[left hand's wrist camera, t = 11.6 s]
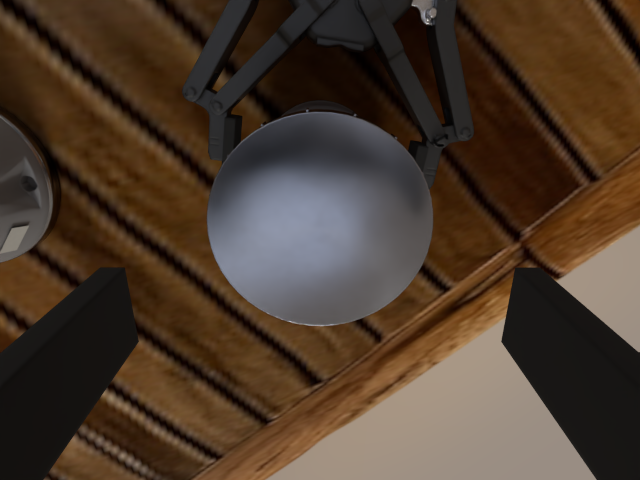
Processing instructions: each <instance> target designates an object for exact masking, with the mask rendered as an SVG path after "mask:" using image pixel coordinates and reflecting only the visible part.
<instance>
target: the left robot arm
mask: <svg viewBox="0 0 640 480" xmlns="http://www.w3.org/2000/svg"><path fill="white" fill-rule="evenodd" d="M59 209H60V188H59V182H58V178H57V174H56V171H55V168H54V166H53V164H52V161H51V159H50V157H49V156H48V154H47V152H46V150H45V149H44V147H43V146H42V144H41V143H40V142H39V140H38V139H37V138H36V136H35V135H34V134H33V133H32V132H31V131H30V130H29V129H28V128H27V127H26V126H25V125H24V124H23V123H22V122H21V121H20V120H18V119H17V118H16V117H15V116H13V115H12V114H11V113H9V112H8V111H6V110H5V109H3V108H1V107H0V262H4V261H7V260H11V259H14V258H16V257H18V256H20V255H22V254H24V253H26V252H27V251H29V250H31V249H32V248H34V247H36V246H37V245H38V244H40V243H41V242H42V241H43V240H44V239H45V238H46V237H47V236H48V235H49V233H50V232H51V230H52V229H53V227H54V225H55V223H56V220H57V217H58V214H59ZM138 342H139V341H138V336H137V330H136V325H135V320H134V315H133V309H132V304H131V299H130V293H129V288H128V283H127V278H126V272H125V268H99V269H98V270H97V271H96V272H95V273H93V274H92V275H91V276H90V277H89V278H88V279H86V280H85V281H84V282H83V283H82V284H81V285H79V286H78V287H77V288H76V289H75V290H74V291H72V292H71V293H70V294H69V295H68V296H67V297H65V298H64V299H63V300H62V301H61V302H60V303H58V304H57V305H56V306H55V307H54V308H53V309H51V310H50V311H49V312H48V313H47V314H46V315H44V316H43V317H42V318H41V319H40V320H39V321H37V322H36V323H35V324H34V325H33V326H32V327H30V328H29V329H28V330H27V331H26V332H25V333H23V334H22V335H21V336H20V337H19V338H18V339H16V340H15V341H14V342H13V343H12V344H11V345H10V346H8V347H7V348H6V349H5V350H4V351H3V352H1V353H0V480H43V479H44V478H45V476H46V475H47V474H48V472H49V471H50V469H51V468H52V466H53V465H54V463H55V462H56V461H57V459H58V458H59V456H60V455H61V453H62V452H63V450H64V449H65V448H66V446H67V445H68V443H69V442H70V440H71V439H72V437H73V436H74V434H75V433H76V432H77V430H78V429H79V427H80V426H81V424H82V423H83V421H84V420H85V419H86V417H87V416H88V414H89V413H90V411H91V410H92V408H93V407H94V406H95V404H96V403H97V401H98V400H99V398H100V397H101V395H102V394H103V393H104V391H105V390H106V388H107V387H108V385H109V384H110V382H111V381H112V379H113V378H114V377H115V375H116V374H117V372H118V371H119V369H120V368H121V366H122V365H123V364H124V362H125V361H126V359H127V358H128V356H129V355H130V353H131V352H132V351H133V349H134V348H135V346H136V345H137V343H138ZM501 342H502V343H503V345H504V346H505V348H506V349H507V351H508V352H509V353H510V355H511V356H512V358H513V359H514V361H515V362H516V364H517V365H518V366H519V368H520V369H521V371H522V372H523V374H524V375H525V377H526V378H527V379H528V381H529V382H530V384H531V385H532V387H533V388H534V389H535V391H536V393H537V394H538V395H539V397H540V398H541V400H542V401H543V403H544V404H545V406H546V407H547V408H548V410H549V411H550V413H551V414H552V416H553V417H554V419H555V420H556V421H557V423H558V424H559V426H560V427H561V429H562V430H563V431H564V433H565V434H566V436H567V437H568V439H569V440H570V442H571V443H572V445H573V446H574V448H575V449H576V450H577V452H578V453H579V455H580V456H581V458H582V459H583V461H584V462H585V463H586V465H587V466H588V468H589V469H590V471H591V472H592V474H593V475H594V476H595V478H596V479H597V480H640V352H637V351H636V350H635V349H634V348H633V347H632V346H630V345H629V344H628V343H627V342H626V341H625V340H624V339H622V338H621V337H620V336H619V335H618V334H616V333H615V332H614V331H613V330H612V329H611V328H610V327H608V326H607V325H606V324H605V323H604V322H603V321H601V320H600V319H599V318H598V317H597V316H596V315H594V314H593V313H592V312H591V311H590V310H589V309H587V308H586V307H585V306H584V305H583V304H581V303H580V302H579V301H578V300H577V299H576V298H575V297H573V296H572V295H571V294H570V293H569V292H568V291H566V290H565V289H564V288H563V287H562V286H560V285H559V284H558V283H557V282H556V281H555V280H554V279H552V278H551V277H550V276H549V275H548V274H547V273H545V272H544V271H543V270H542V269H541V268H515V272H514V278H513V283H512V288H511V293H510V299H509V304H508V309H507V315H506V320H505V325H504V331H503V336H502V341H501Z"/></svg>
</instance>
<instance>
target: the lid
mask: <svg viewBox="0 0 640 480" xmlns="http://www.w3.org/2000/svg"><path fill="white" fill-rule="evenodd" d="M396 139H397V137H396V136H394V135H393V134H391V135H390V134H389V133H388V132H386V131H385V130H383V129H382V128H380V127H379V126H377V125H376V124H374V123H373V122H370V121H368V120H366V119H364V118H362V117H360V116H357V115H356V114H355V113H354V112H352V114H350V113H347V112H342V111H336V110H329V109H312V110H309V108H307V109H306V110H303V111H298V112H294V113H290V114H286V115H283V116H281V117H278V118H276V119H273V120H271V121H270V122H268V123H266V122H264V123H263V124H261V127H259V128H258V129H257V130H255V131H254V132H253V133H251V134H250V135H249V136H248V137H246V138H245V139H244V140H243V141H241V143H240V144H239V145H238V146H237V147H236V148H235V149H234V150H233V151H231V152H230V153H229V154H228V155H227V159H226V160H225V161H224V163H223V164H222V166H221V168H220V170H219V172H218V174H217V175H216V177H215V180H214V183H213V186H212V189H211V192H210V195H209V201H208V208H207V229H208V236H209V241H210V245H211V249H212V252H213V254H214V257H215V260H216V262H217V264H218V266H219V267H220V269H221V271H222V273H223V274H224V276H225V277H226V279H227V280H228V282H229V283H230V284H231V285H232V286H233V287H234V289H235V290H236V291H237V292H238V293H239V294H240V295H241V296H243V297H244V298H245V299H246V300H247V301H248V302H250V303H251V304H253V305H254V306H256V307H257V308H258V309H260V310H262V311H264V312H266V313H268V314H270V315H272V316H274V317H277V318H279V319H282V320H285V321H289V322H293V323H297V324H304V325H314V326H327V325H338V324H342V323H347V322H352V321H355V320H358V319H361V318H364V317H366V316H368V315H370V314H372V313H375V312H376V311H378V310H380V309H381V308H383V307H385V306H386V305H388V304H389V303H390V302H391V301H393V300H394V299H395V298H397V297H398V296H399V295H400V294H401V293H402V292H403V291H404V290H405V289H406V288H407V287H408V285H409V284H410V283H411V281H412V280H413V279H414V278H415V276H416V274H417V273H418V271H419V269H420V268H421V266H422V264H423V262H424V259H425V257H426V255H427V252H428V249H429V245H430V241H431V236H432V229H433V208H432V201H431V196H430V192H429V189H428V185H427V182H426V180H425V178H424V176H423V175H424V174H423V172H422V171H421V169H420V168H419V166H418V165H417V163H416V161H415V160H414V158H413V157H412V156H411V154H410V153H409V152H408V151H407V150H406V149H405V148H404V146H403V145H402V144H401V143H399V142H398V141H397V140H396Z"/></svg>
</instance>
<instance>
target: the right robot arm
mask: <svg viewBox="0 0 640 480" xmlns="http://www.w3.org/2000/svg"><path fill="white" fill-rule="evenodd" d="M258 2H259V0H229V2H228V4H227V6H226V8H225V9H224V11H223V13H222V15H221V17H220V19H219V21H218V23H217V24H216V26H215V28H214V30H213V32H212V34H211V36H210V38H209V39H208V41H207V43H206V45H205V47H204V49H203V51H202V53H201V54H200V56H199V58H198V60H197V62H196V64H195V66H194V68H193V69H192V71H191V73H190V75H189V77H188V79H187V81H186V83H185V84H184V86H183V89H182V93H183V96H184V98H186V99H187V100H188V101H193V102H195V103H196V104H198V105H200V106H202V107H204V108H205V109H206V110H207V111H208V113H209V117H210V123H209V146H208V153H209V156H210V159H213V160H220V161H222V164H223V163H224V161H225V160H226V159H227V155H228V154H229V153H230V152H231V151H233V150H234V149H235V148H236V147H237V146H238V145H239V144H240V142H241V127H242V116H239V115H231V111H232V109H233V108H234V107H235V106H236V105H237V104H238V103H239V102H240V101H241V100H242V99H243V98H244V97H245V96H246V95H247V94H248V93H249V92H250V91H251V90H252V89H253V88H254V87H255V86H256V85H257V84H258V83H259V82H260V81H261V80H262V79H263V78H264V77H265V76H266V75H267V74H268V73H269V72H270V71H271V70H272V69H273V68H274V67H275V66H276V65H277V64H278V63H279V62H280V61H281V60H282V59H283V58H284V57H285V56H286V55H287V54H288V53H289V52H290V51H291V50H292V49H293V48H294V47H295V46H296V45H297V44H299V42H300V41H301V40H302V39H303V38H304V37H305V36H307V38H308V39H309V40H310V41H311V42H312V43H314V44H316V45H317V46H319V47H325V48H330V47H338V46H339V47H342V48H344V49H346V50H348V51H351V52H358V53H361V52H364V51H367V50H369V49H371V48H374V50H375V52H376V53H377V55H378V57H379V59H380V60H381V62H382V63H383V65H384V66H385V68H386V70H387V72H388V74H389V76H390V78H391V80H392V81H393V83H394V85H395V87H396V89H397V91H398V93H399V95H400V97H401V98H402V100H403V102H404V104H405V106H406V108H407V110H408V112H409V114H410V115H411V117H412V119H413V121H414V123H415V125H416V127H417V129H418V131H419V132H420V134H421V136H422V143H421V142H419V141H412V140H410V145H409V150H408V152H409V153H410V154H411V156H412V157H413V158H414V160H415V161H416V163H417V165H418V166H419V168H420V169H421V171H422V172H423V174H424V175H423V176H424V178H425V180H426V182H427V185H428V189H430V188H431V186H432V185H433V183H434V179H435V175H436V170H437V167H438V163H439V159H440V155H441V151H442V149H443V148H444V147H446V146H447V145H448V144H449V143H452V142H457V141H468V140H469V139H471V138H472V136H473V134H474V128H473V123H472V117H471V112H470V107H469V102H468V97H467V92H466V86H465V81H464V76H463V71H462V66H461V61H460V56H459V50H458V45H457V40H456V35H455V30H454V18H455V11H456V3H457V0H289V2H290V4H291V6H292V8H293V10H294V12H293V14H292V15H291V16H290V17H289V18H288V19H287V20H286V21H285V22H284V23H283V24H282V25H281V26H280V27H279V28H278V30H277V31H276V33H275V34H274V35H273V36H272V37H271V38H270V39H269V40H268V41H267V42H266V43H265V44H264V45H263V46H262V47H261V48H260V49H259V50H258V51H257V52H256V53H255V54H254V55H253V56H252V57H251V58H250V59H249V60H248V61H247V63H246V64H245V65H244V66H243V67H242V68H241V69H240V70H239V71H238V72H237V73H236V74H235V75H234V76H233V77H232V78H231V79H230V80H229V81H228V82H227V83H226V84H225V85H224V86H223V87H222V88H221V89H220V90H219V91H218V92H217V91H215V90H213V89H212V88H213V86H214V84H215V83H216V81H217V79H218V77H219V75H220V74H221V72H222V70H223V68H224V67H225V65H226V63H227V61H228V59H229V58H230V56H231V54H232V52H233V50H234V49H235V47H236V45H237V43H238V41H239V40H240V38H241V36H242V34H243V32H244V31H245V29H246V27H247V25H248V23H249V22H250V20H251V18H252V16H253V14H254V12H255V10H256V8H257V5H258ZM409 8H412V9H414V10H415V11H416V12H417V15H418V21H419V23H420V24H421V25H422V26H426V30H427V40H428V46H429V50H430V55H431V59H432V64H433V69H434V73H435V78H436V82H437V87H438V92H439V96H440V101H441V105H442V110H443V115H444V119H445V124H441V123H440V121H439V119H438V117H437V115H436V113H435V111H434V109H433V107H432V105H431V103H430V101H429V99H428V97H427V95H426V93H425V91H424V89H423V87H422V86H421V84H420V82H419V80H418V78H417V76H416V74H415V72H414V70H413V68H412V66H411V64H410V62H409V60H408V58H407V56H406V54H405V52H404V47H403V45H402V43H401V41H400V39H399V37H398V35H397V33H396V31H395V29H394V27H393V26H394V25H395V24H396V23H397V22H398V21H399V20H400V18H401V17H402V16H403V15H404V14H405V13H406V12H407V11H408V10H409Z"/></svg>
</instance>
